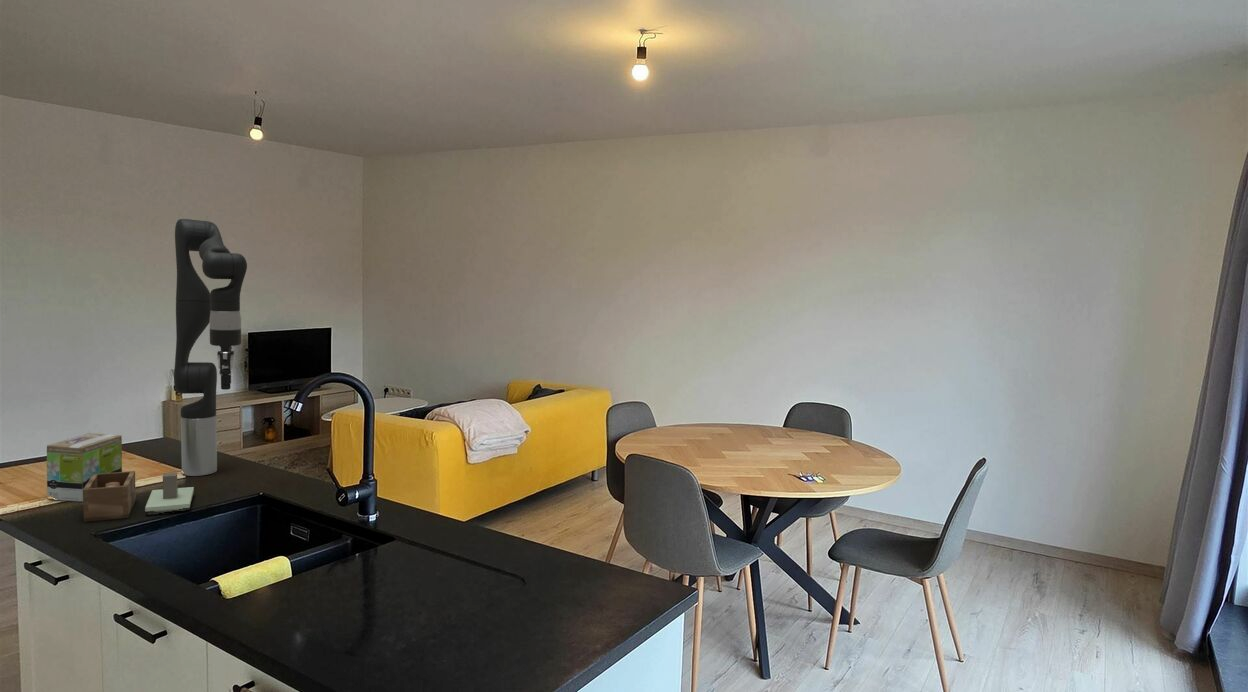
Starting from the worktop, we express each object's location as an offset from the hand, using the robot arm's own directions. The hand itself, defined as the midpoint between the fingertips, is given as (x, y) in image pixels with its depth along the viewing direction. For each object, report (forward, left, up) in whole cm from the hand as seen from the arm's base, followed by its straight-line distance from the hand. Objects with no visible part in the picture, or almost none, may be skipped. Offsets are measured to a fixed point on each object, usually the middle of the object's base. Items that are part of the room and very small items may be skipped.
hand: (226, 386), depth 203 cm
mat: (+6, -13, -30) cm, 33 cm away
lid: (+6, -13, -30) cm, 33 cm away
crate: (+6, -26, -30) cm, 40 cm away
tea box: (-12, -34, -30) cm, 47 cm away
